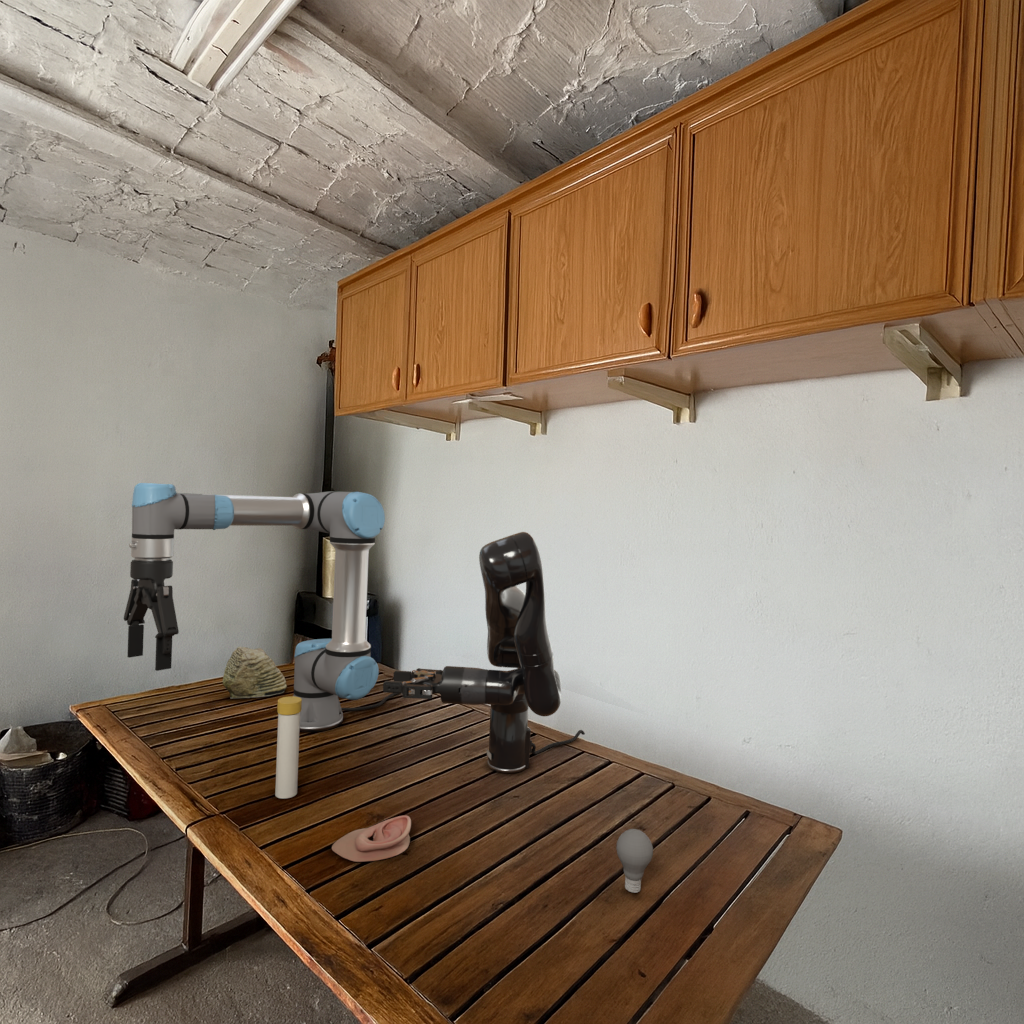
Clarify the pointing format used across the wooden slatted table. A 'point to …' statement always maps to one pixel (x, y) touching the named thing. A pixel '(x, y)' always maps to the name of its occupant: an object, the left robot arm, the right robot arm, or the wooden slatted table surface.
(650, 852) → the light bulb
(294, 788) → the white bottle
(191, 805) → the wooden slatted table surface
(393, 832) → the anatomical model
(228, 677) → the fossil
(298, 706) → the lid
